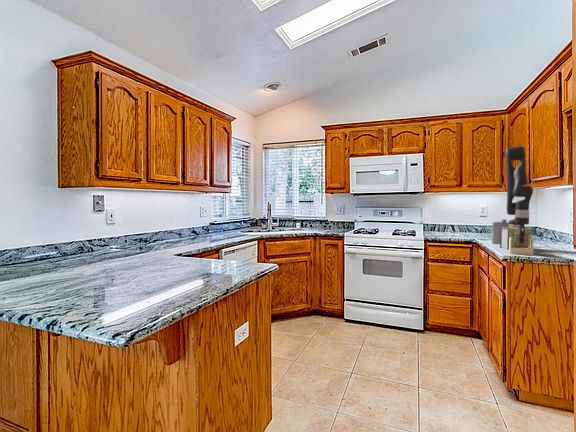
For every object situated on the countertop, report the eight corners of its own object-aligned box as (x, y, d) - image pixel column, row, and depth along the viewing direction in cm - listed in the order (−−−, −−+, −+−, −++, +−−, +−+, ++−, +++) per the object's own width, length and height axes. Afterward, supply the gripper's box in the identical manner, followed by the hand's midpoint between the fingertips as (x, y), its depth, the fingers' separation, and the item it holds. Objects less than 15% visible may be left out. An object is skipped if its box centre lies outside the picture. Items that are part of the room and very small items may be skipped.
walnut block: (514, 246, 219) (514, 232, 219) (527, 246, 215) (527, 233, 215) (514, 247, 215) (515, 233, 214) (528, 248, 211) (528, 234, 211)
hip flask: (515, 245, 257) (516, 219, 256) (515, 245, 254) (516, 219, 253) (492, 243, 268) (492, 218, 267) (491, 243, 265) (492, 219, 264)
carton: (508, 251, 224) (509, 237, 224) (531, 253, 218) (531, 238, 217) (509, 254, 213) (510, 239, 212) (533, 256, 206) (533, 240, 206)
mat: (535, 253, 215) (535, 252, 215) (553, 255, 210) (553, 254, 210) (537, 256, 206) (537, 255, 206) (556, 257, 202) (556, 256, 202)
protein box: (531, 250, 228) (532, 228, 227) (508, 250, 228) (509, 228, 227) (520, 248, 238) (521, 227, 238) (499, 248, 239) (499, 227, 238)
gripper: (514, 216, 222) (513, 241, 223) (515, 217, 210) (515, 243, 211) (528, 216, 218) (527, 241, 219) (530, 217, 206) (529, 244, 207)
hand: (521, 242), depth 215 cm, fingers closed on walnut block, 5 cm apart
